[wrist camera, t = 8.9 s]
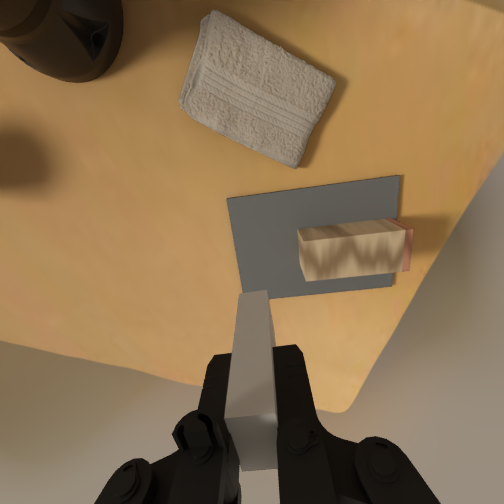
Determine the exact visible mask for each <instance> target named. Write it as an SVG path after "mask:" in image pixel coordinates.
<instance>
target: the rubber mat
mask: <svg viewBox="0 0 504 504" xmlns="http://www.w3.org/2000/svg"><path fill="white" fill-rule="evenodd" d="M399 181H400V175H395V176H387V177H380V178H373V179H365V180H358V181H351V182H343V183H336V184H329V185H321V186H314V187H307V188H299V189H292V190H285V191H277V192H270V193H263V194H256V195H248V196H241V197H234V198H227V204H228V210H229V216H230V222H231V227H232V233H233V239H234V245H235V250H236V256H237V262H238V268H239V273H240V279H241V285H242V290H243V293H248V292H255V291H262V290H267V293H268V298H269V299H275V298H284V297H294V296H304V295H314V294H324V293H333V292H343V291H353V290H363V289H373V288H382V287H392V277H393V273H385V274H375V275H365V276H355V277H346V278H336V279H326V280H316V281H306V280H305V277H304V274H303V271H302V269H301V266H300V259H299V245H298V231H297V229H302V228H310V227H319V226H327V225H335V224H344V223H352V222H360V221H369V220H377V219H386V218H392V219H394V220H396V221H397V208H398V194H399Z"/></svg>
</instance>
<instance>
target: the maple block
mask: <svg viewBox="0 0 504 504" xmlns="http://www.w3.org/2000/svg"><path fill="white" fill-rule="evenodd" d="M297 231H298V245H299V259H300V266H301V269H302V271H303V274H304V277H305V280H306V281H316V280H326V279H336V278H346V277H355V276H365V275H375V274H385V273H394V272H404V271H409V269H410V260H411V250H412V240H413V231H414V229H413V228H411V227H409V226H407V225H404V224H402V223H400V222H398V221H396V220H394V219H392V218H386V219H377V220H369V221H360V222H352V223H344V224H335V225H327V226H319V227H310V228H302V229H297Z"/></svg>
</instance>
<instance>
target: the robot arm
mask: <svg viewBox="0 0 504 504" xmlns="http://www.w3.org/2000/svg"><path fill="white" fill-rule="evenodd" d="M122 33H123V12H122V5H121V0H0V42H1V43H3V44H4V45H5V46H6V47H7V48H8V49H9V50H10V51H11V52H12V53H13V54H14V55H16V56H17V57H18V58H19V59H20V60H22V61H23V62H24V63H26V64H27V65H28V66H30V67H32V68H33V69H35V70H37V71H39V72H41V73H43V74H45V75H48V76H51V77H53V78H56V79H58V80H62V81H66V82H74V83H79V82H86V81H89V80H92V79H94V78H96V77H98V76H100V75H101V74H102V73H104V72H105V71H106V70H107V69H108V68H109V66H110V65H111V64H112V62H113V61H114V59H115V57H116V55H117V53H118V50H119V47H120V44H121V39H122ZM172 436H173V438H174V440H175V442H176V444H177V446H178V448H179V449H178V450H177V451H176V452H174V453H173V454H171V455H169V456H167V457H165V458H163V459H160V460H158V461H156V462H154V463H152V464H149V462H148V461H146V460H144V459H143V458H137V459H132V460H130V461H128V462H126V463H124V464H123V465H122V466H121V467H120V468H118V469H117V470H116V471H115V473H114V474H113V475H112V477H111V478H110V479H109V481H108V482H107V484H106V485H105V487H104V489H103V490H102V492H101V494H100V495H99V497H98V498H97V500H96V502H95V503H94V504H241V488H240V487H241V486H240V484H239V465H240V466H241V469H242V471H254V470H266V469H278V478H279V493H280V504H441V503H440V502H439V501H438V499H437V498H436V497H435V495H434V494H433V492H432V491H431V489H430V488H429V487H428V485H427V484H426V482H425V481H424V480H423V478H422V477H421V475H420V474H419V473H418V471H417V470H416V468H415V467H414V466H413V464H412V463H411V461H410V460H409V459H408V457H407V456H406V455H405V454H404V453H403V451H402V450H401V449H400V448H399V447H398V446H397V445H395V444H394V443H392V442H390V441H389V440H387V439H384V438H380V437H376V436H374V437H367V438H365V439H364V440H362V441H361V442H359V443H355V442H352V441H348V440H344V439H341V438H338V437H336V436H334V435H332V434H331V433H329V432H328V431H327V430H326V429H325V428H324V427H323V426H322V425H321V423H320V421H319V420H318V417H317V414H316V410H315V406H314V401H313V397H312V392H311V388H310V383H309V379H308V374H307V370H306V365H305V360H304V356H303V353H302V351H301V350H300V349H299V348H298V346H297V345H296V344H294V345H286V346H278V347H276V343H275V332H274V326H273V320H272V315H271V309H270V304H269V298H268V293H267V290H262V291H255V292H248V293H241V294H239V299H238V307H237V316H236V324H235V332H234V341H233V349H232V353H227V354H219V355H214V356H213V358H212V360H211V361H210V363H209V364H208V366H207V370H206V375H205V379H204V384H203V389H202V393H201V397H200V401H199V406H198V410H195V411H192V412H190V413H188V414H187V415H185V416H184V417H183V418H182V419H181V420H180V421H179V422H178V424H177V425H176V426H175V429H174V431H173V433H172Z"/></svg>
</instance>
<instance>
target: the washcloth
mask: <svg viewBox="0 0 504 504" xmlns="http://www.w3.org/2000/svg"><path fill="white" fill-rule="evenodd" d="M200 24H201V25H200V33H199V37H198V41H197V44H196V47H195V50H194V53H193V56H192V60H191V62H190V66H189V69H188V72H187V75H186V78H185V82H184V85H183V88H182V91H181V94H180V97H179V100H178V102H179V103H180V108H181V109H182V110H184V111H185V112H186V113H188V115H189V116H190V117H192V118H193V119H194V120H196V121H198V122H200V123H202V124H203V125H206V126H207V127H209V128H211V129H213V130H214V131H216V132H218V133H220V134H222V135H223V136H225V137H227V138H229V139H232V140H234V141H236V142H238V143H241V144H243V145H245V146H246V147H249V148H250V149H252V150H255V151H257V152H260V153H262V154H264V155H266V156H269V157H270V158H272V159H274V160H276V161H278V162H281V163H282V164H285V165H287V166H289V167H292V168H294V169H297V166H298V165H299V164H300V161H301V159H302V156H303V155H304V152H305V149H306V145H307V140H308V138H309V136H310V134H311V132H312V130H313V128H314V126H315V124H316V123H317V122H318V121H319V120H320V118H321V115H322V114H323V112H324V110H325V108H326V107H327V104H328V102H329V99H330V97H331V95H332V93H333V91H334V89H335V86H336V82H335V80H334V79H332V76H328V75H327V74H326V73H324V72H322V71H320V70H318V69H316V68H314V66H312V65H310V64H307V63H306V62H305V61H304V60H301V59H299V58H297V57H295V56H294V55H293V54H291V53H288V52H286V51H285V50H284V49H283V48H282V47H281V46H278V45H275V44H273V43H271V41H268V40H266V39H265V37H262V36H260V35H257V34H255V33H254V32H253V31H252V30H250V29H248V28H246V27H244V26H243V25H241V24H240V23H238V22H236V21H234V19H233V18H230V17H229V16H227V15H224V14H223V13H221V12H220V11H219V10H218V11H217V10H212V11H211V13H210V14H209V15H207V16H205V17H204V18H202V20H201V21H200Z"/></svg>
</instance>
